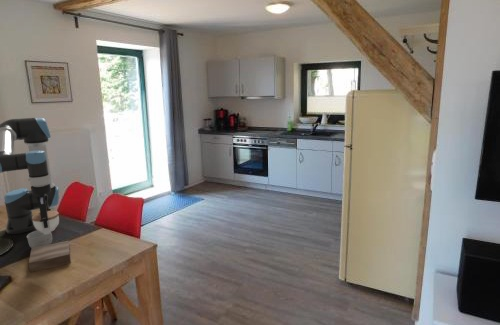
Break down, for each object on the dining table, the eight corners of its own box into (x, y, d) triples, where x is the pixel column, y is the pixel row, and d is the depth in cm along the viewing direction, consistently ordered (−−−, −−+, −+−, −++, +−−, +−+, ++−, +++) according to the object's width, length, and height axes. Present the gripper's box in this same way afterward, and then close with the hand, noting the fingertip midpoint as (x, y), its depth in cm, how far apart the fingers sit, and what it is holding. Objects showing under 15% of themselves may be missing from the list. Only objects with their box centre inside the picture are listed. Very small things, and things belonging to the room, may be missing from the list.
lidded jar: (65, 228, 153) (62, 210, 151) (40, 237, 144) (37, 217, 142) (54, 223, 159) (51, 205, 157) (30, 231, 150) (26, 212, 148)
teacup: (41, 252, 161) (39, 238, 159) (23, 250, 163) (21, 236, 162) (62, 240, 174) (60, 226, 173) (45, 238, 177) (43, 225, 175)
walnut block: (33, 257, 158) (31, 248, 157) (70, 249, 165) (68, 240, 164) (30, 273, 144) (28, 263, 143) (70, 263, 152) (69, 254, 151)
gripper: (32, 179, 154) (39, 222, 159) (28, 192, 135) (36, 240, 140) (50, 177, 158) (56, 219, 163) (49, 190, 138) (56, 236, 144)
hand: (47, 229), depth 151 cm, fingers closed on lidded jar, 11 cm apart
